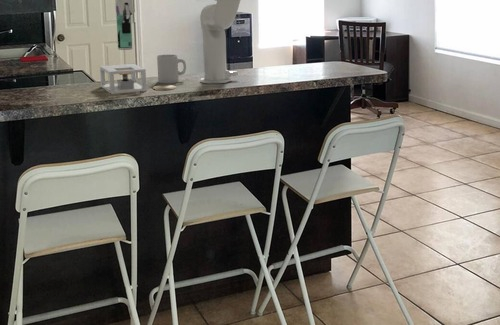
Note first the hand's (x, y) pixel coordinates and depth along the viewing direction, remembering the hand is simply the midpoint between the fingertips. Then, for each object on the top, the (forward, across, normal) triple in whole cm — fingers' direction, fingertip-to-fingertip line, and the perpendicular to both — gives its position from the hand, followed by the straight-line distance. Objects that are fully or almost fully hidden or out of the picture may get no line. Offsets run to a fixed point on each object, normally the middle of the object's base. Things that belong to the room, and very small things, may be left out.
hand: (124, 32), depth 269 cm
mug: (+22, +12, -22) cm, 34 cm away
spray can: (+7, 0, 0) cm, 7 cm away
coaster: (+22, -3, -14) cm, 27 cm away
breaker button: (+19, -1, +1) cm, 19 cm away
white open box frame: (+23, +3, +1) cm, 23 cm away
